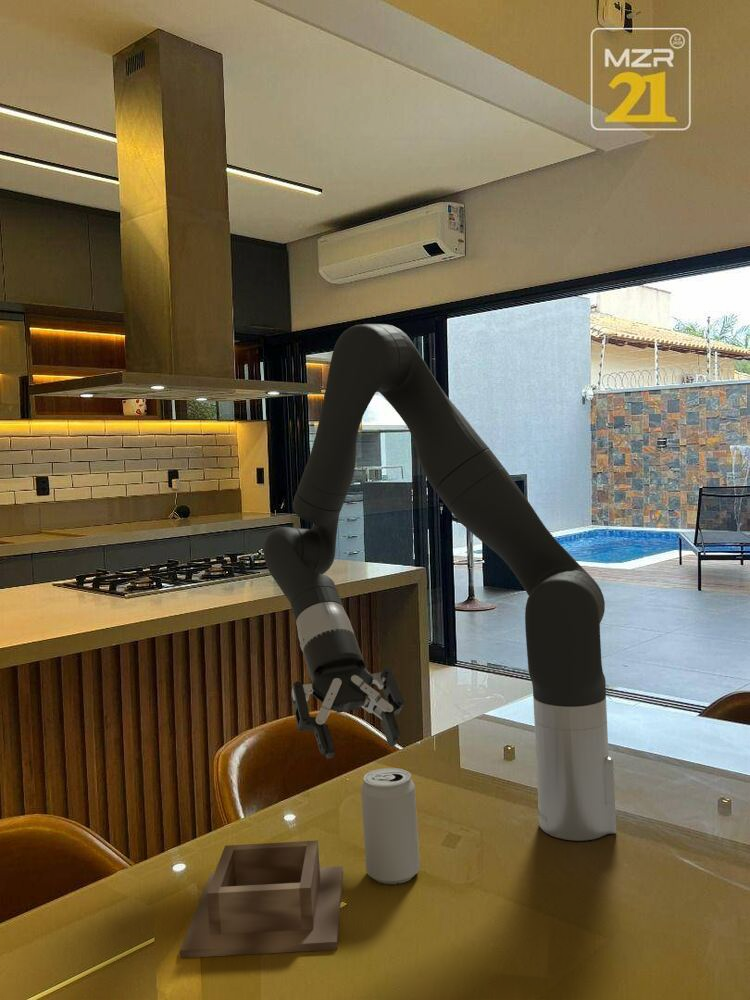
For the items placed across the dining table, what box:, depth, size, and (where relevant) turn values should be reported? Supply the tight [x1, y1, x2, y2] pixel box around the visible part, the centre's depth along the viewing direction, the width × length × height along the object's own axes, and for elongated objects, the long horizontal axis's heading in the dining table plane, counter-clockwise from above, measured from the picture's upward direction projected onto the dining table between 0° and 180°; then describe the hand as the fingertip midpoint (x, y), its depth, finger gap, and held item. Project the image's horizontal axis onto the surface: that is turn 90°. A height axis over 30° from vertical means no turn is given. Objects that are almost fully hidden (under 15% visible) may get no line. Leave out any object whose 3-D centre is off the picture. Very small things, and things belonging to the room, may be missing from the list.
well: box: [179, 840, 344, 959], centre depth 96 cm, size 16×16×5 cm
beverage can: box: [360, 767, 421, 885], centre depth 103 cm, size 6×6×12 cm
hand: (363, 749), depth 110 cm, fingers open, 8 cm apart
